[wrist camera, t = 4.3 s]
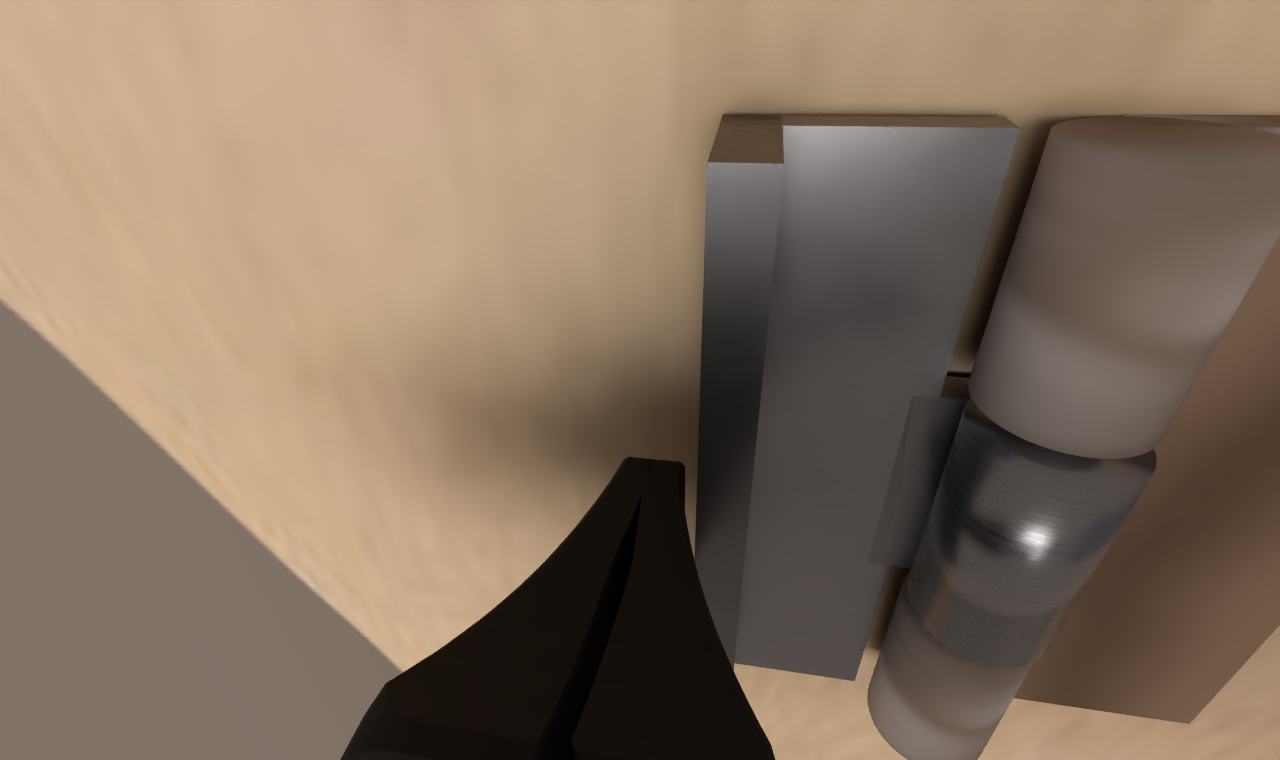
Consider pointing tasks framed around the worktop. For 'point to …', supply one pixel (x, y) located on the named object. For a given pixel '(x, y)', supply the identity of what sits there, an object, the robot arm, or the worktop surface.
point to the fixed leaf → (1131, 423)
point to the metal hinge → (872, 404)
